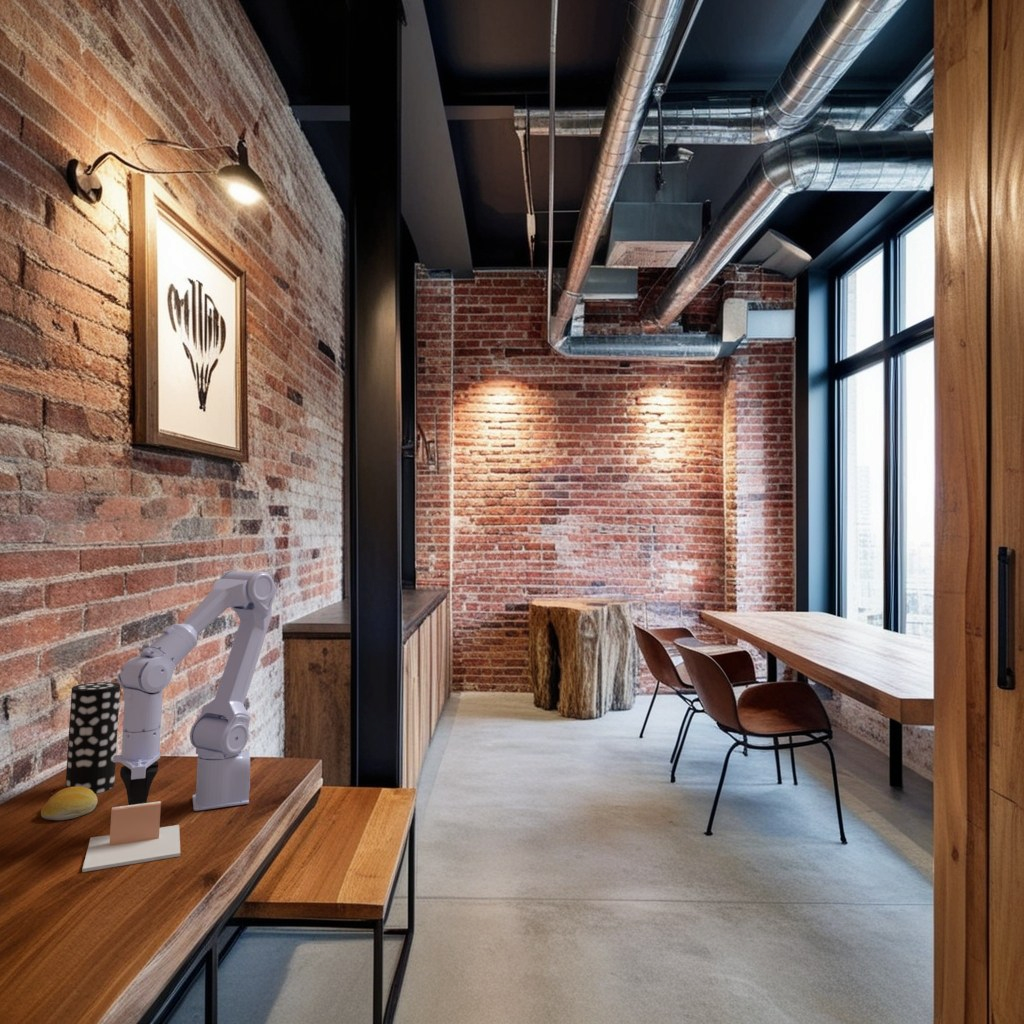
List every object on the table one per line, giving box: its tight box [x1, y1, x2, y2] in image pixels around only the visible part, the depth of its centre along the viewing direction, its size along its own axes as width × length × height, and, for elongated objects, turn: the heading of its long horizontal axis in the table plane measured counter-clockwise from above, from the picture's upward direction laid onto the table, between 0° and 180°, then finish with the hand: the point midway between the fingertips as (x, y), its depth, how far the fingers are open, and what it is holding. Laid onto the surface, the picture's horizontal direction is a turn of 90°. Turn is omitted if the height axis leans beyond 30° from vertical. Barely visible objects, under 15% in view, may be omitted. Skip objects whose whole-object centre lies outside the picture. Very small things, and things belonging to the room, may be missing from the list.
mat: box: [81, 824, 181, 873], centre depth 108 cm, size 13×12×1 cm
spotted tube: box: [64, 681, 121, 795], centre depth 135 cm, size 8×8×20 cm
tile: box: [109, 800, 162, 846], centre depth 110 cm, size 7×1×6 cm, turn 117°
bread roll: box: [40, 786, 98, 821], centre depth 122 cm, size 8×9×4 cm
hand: (137, 809), depth 114 cm, fingers closed
